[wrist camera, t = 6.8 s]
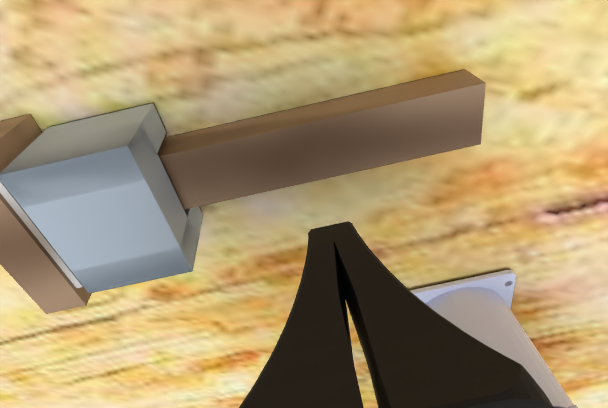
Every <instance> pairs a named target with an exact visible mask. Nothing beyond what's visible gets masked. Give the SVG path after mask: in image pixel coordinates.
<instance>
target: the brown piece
mask: <svg viewBox="0 0 608 408" xmlns="http://www.w3.org/2000/svg"><path fill="white" fill-rule="evenodd" d="M484 96H485V82H483V81H482V80H480V79H479V78H477V77H476V76H474V75H473V74H471V73H470V72H468V71H467V70H460V71H456V72H452V73H447V74H443V75H438V76H434V77H430V78H425V79H421V80H416V81H412V82H408V83H403V84H399V85H394V86H390V87H386V88H381V89H377V90H372V91H368V92H364V93H359V94H355V95H350V96H346V97H342V98H337V99H333V100H328V101H324V102H320V103H315V104H311V105H306V106H302V107H298V108H293V109H289V110H284V111H280V112H276V113H271V114H267V115H262V116H258V117H254V118H249V119H245V120H240V121H236V122H232V123H227V124H223V125H218V126H214V127H210V128H205V129H201V130H196V131H192V132H188V133H183V134H179V135H174V136H170V137H166V138H164V139H163V141H162V144H161V146H160V148H159V150H158V153H157V154H158V156H159V158H160V160H161V163H162V165H163V167H164V169H165V171H166V173H167V175H168V177H169V179H170V181H171V184H172V186H173V188H174V190H175V192H176V194H177V196H178V198H179V200H180V203H181V205H182V207H183V209H184V210H185V209H189V208H194V207H198V206H203V205H207V204H212V203H217V202H221V201H226V200H230V199H235V198H239V197H244V196H248V195H253V194H257V193H262V192H266V191H271V190H275V189H280V188H284V187H289V186H294V185H298V184H303V183H307V182H312V181H316V180H321V179H325V178H330V177H334V176H339V175H343V174H348V173H352V172H357V171H361V170H366V169H371V168H375V167H380V166H384V165H389V164H393V163H398V162H402V161H407V160H411V159H416V158H420V157H425V156H429V155H434V154H439V153H443V152H448V151H452V150H457V149H461V148H466V147H470V146H475V145H479V144H481V133H482V121H483V108H484ZM41 134H42V132H41V130H40V128H39V127H38V125H37V124H36V122H35V121H34V119H33V118H32V116H31V115H30V114H28V115H24V116H20V117H15V118H11V119H7V120H2V121H0V172H1V171H3V170H4V169H5V168H6V167H7V166H8V165H9V164H10V163H11V162H12V161H13V160H14V159H15V158H16V157H17V156H18V155H19V154H20V153H22V152H23V151H24V150H25V149H26V148H27V147H28V146H29V145H30V144H31V143H32V142H33V141H34V140H35V139H36V138H37V137H38V136H39V135H41ZM0 264H1V265H2V266H3V268H4V269H5V270H6V271H7V272H8V273H9V274H10V275H11V276H12V277H13V278H14V279H15V281H16V282H17V283H18V284H19V285H20V286H21V287H22V288H23V289H24V290H25V291H26V293H27V294H28V295H29V296H30V297H31V298H32V299H33V300H34V301H35V302H36V303H37V304H38V306H39V307H40V308H41V309H42V310H43V311H44V312H45V313H46V314H48V313H53V312H58V311H62V310H67V309H72V308H76V307H81V306H86V305H87V303H88V300H89V298H90V296H91V294H92V293H88V292H87V290H86V289H85V288H84V286H83V285H82V284H81V283H80V281H79V280H78V279H77V278H76V276H75V275H74V274H73V272H72V271H71V270H70V269H69V267H68V266H67V265H66V263H65V262H64V261H63V260H62V258H61V257H60V256H59V254H58V253H57V252H56V251H55V249H54V248H53V247H52V245H51V244H50V243H49V242H48V240H47V239H46V238H45V237H44V235H43V234H42V233H41V231H40V230H39V229H38V228H37V226H36V225H35V224H34V222H33V221H32V220H31V219H30V217H29V216H28V215H27V213H26V212H25V211H24V210H23V208H22V207H21V206H20V204H19V203H18V202H17V201H16V199H15V198H14V197H13V196H12V194H11V193H10V192H9V190H8V189H7V188H6V187H5V185H4V184H3V183H2V181H1V180H0Z"/></svg>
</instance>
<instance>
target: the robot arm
mask: <svg viewBox="0 0 608 408" xmlns="http://www.w3.org/2000/svg"><path fill="white" fill-rule="evenodd" d="M308 237H309V238H308V249H307V256H306V261H305V266H304V270H303V274H302V278H301V282H300V285H299V289H298V292H297V295H296V298H295V301H294V304H293V307H292V310H291V312H290V315H289V318H288V320H287V322H286V325H285V327H284V330H283V332H282V334H281V336H280V338H279V340H278V342H277V344H276V347H275V349H274V351H273V352H272V354H271V356H270V358H269V360H268V362H267V363H266V365H265V367H264V369H263V370H262V372H261V374H260V376H259V377H258V379H257V381H256V382H255V384H254V386H253V387H252V389H251V391H250V392H249V394H248V395H247V396H246V398H245V399H244V401H243V402H242V404H241V405H240V407H239V408H363V403H362V399H361V394H360V390H359V385H358V381H357V376H356V372H355V367H354V362H353V354H352V347H351V339H350V331H349V323H348V315H347V308H346V302H347V305H348V308H349V311H350V314H351V317H352V320H353V323H354V325H355V328H356V331H357V334H358V337H359V340H360V343H361V346H362V349H363V352H364V355H365V358H366V361H367V364H368V368H369V371H370V375H371V379H372V383H373V387H374V391H375V395H376V399H377V404H378V408H578V407H577V406H576V405H574V404H573V403H572V401H571V400H570V398H569V397H568V395H567V394H566V392H565V391H564V389H563V388H562V386H561V385H560V383H559V382H558V380H557V379H556V377H555V376H554V374H553V373H552V371H551V370H550V368H549V367H548V365H547V364H546V362H545V361H544V359H543V358H542V356H541V355H540V353H539V352H538V350H537V349H536V347H535V346H534V344H533V343H532V341H531V340H530V338H529V337H528V335H527V334H526V332H525V331H524V329H523V328H522V326H521V325H520V323H519V322H518V320H517V319H516V317H515V316H514V314H513V313H512V311H511V310H510V309H511V303H512V298H513V292H514V287H515V281H516V274H515V273H514V272H513V271H512V270H505V271H500V272H495V273H491V274H486V275H481V276H476V277H472V278H467V279H462V280H457V281H453V282H448V283H443V284H438V285H433V286H429V287H424V288H419V289H414V290H409V289H407V288H406V287H405V286H404V285H403V284H402V283H401V282H400V281H399V280H398V279H397V278H396V277H395V276H394V275H393V274H392V273H391V272H390V271H389V270H388V269H387V268H386V267H385V266H384V265H383V264H382V263H381V261H380V260H379V259H378V258H377V257H376V256H375V255H374V254H373V252H372V251H371V250H370V249H369V248H368V246H367V245H366V244H365V242H364V241H363V240H362V238H361V237H360V236H359V234H358V233H357V231H356V229H355V228H354V226H353V224H352V223H350V222H349V221H348V222H343V223H339V224H334V225H329V226H325V227H320V228H315V229H311V230H310V232H309V233H308ZM345 299H346V300H345Z"/></svg>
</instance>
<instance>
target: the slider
mask: <svg viewBox="0 0 608 408" xmlns="http://www.w3.org/2000/svg"><path fill="white" fill-rule="evenodd" d="M165 135H166V131H165V129H164V126H163V124H162V122H161V120H160V117H159V115H158V113H157V111H156V108H155V106H154V104H153V103H152V104H147V105H143V106H139V107H134V108H130V109H126V110H121V111H117V112H113V113H108V114H104V115H100V116H95V117H91V118H87V119H82V120H78V121H74V122H69V123H65V124H61V125H56V126H52V127H48V128H47V129H46V130H45V131H44V132H43V133H42V134H41V135H39V136H38V137H37V138H36V139H35V140H34V141H33V142H32V143H31V144H30V145H29V146H28V147H27V148H26V149H25V150H24V151H23V152H22V153H20V154H19V155H18V156H17V157H16V158H15V159H14V160H13V161H12V162H11V163H10V164H9V165H8V166H7V167H6V168H5V169H4V170H3V171H1V172H0V180H1V181H2V183H3V184H4V185H5V187H6V188H7V189H8V190H9V192H10V193H11V194H12V196H13V197H14V198H15V199H16V201H17V202H18V203H19V204H20V206H21V207H22V208H23V210H24V211H25V212H26V213H27V215H28V216H29V217H30V219H31V220H32V221H33V222H34V224H35V225H36V226H37V228H38V229H39V230H40V231H41V233H42V234H43V235H44V237H45V238H46V239H47V240H48V242H49V243H50V244H51V245H52V247H53V248H54V249H55V251H56V252H57V253H58V254H59V256H60V257H61V258H62V260H63V261H64V262H65V263H66V265H67V266H68V267H69V269H70V270H71V271H72V272H73V274H74V275H75V276H76V278H77V279H78V280H79V281H80V283H81V284H82V285H83V286H84V288H85V289H86V290H87V292H88V293H94V292H99V291H103V290H108V289H112V288H117V287H122V286H126V285H131V284H136V283H140V282H145V281H150V280H154V279H159V278H164V277H168V276H173V275H177V274H182V273H187V272H191V271H193V267H194V261H195V256H196V251H197V245H198V240H199V235H200V229H201V224H202V219H203V214H202V212H201V210H200V208H199V206H198V207H194V208H189V209H185V210H184V209H183V207H182V205H181V203H180V200H179V198H178V196H177V194H176V192H175V190H174V188H173V186H172V184H171V181H170V179H169V177H168V175H167V173H166V171H165V169H164V167H163V165H162V163H161V160H160V158H159V156H158V154H157V153H158V150H159V148H160V146H161V144H162V141H163V139H164V137H165Z"/></svg>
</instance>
